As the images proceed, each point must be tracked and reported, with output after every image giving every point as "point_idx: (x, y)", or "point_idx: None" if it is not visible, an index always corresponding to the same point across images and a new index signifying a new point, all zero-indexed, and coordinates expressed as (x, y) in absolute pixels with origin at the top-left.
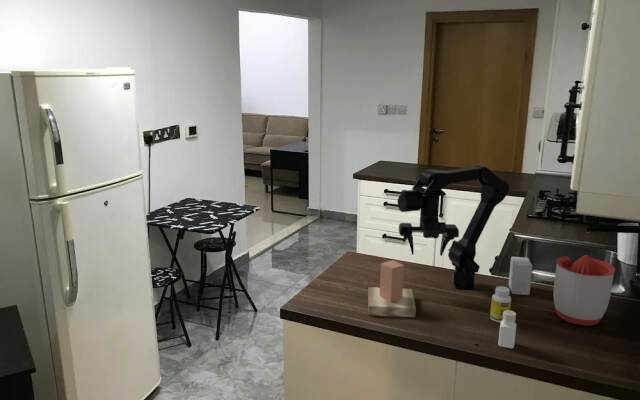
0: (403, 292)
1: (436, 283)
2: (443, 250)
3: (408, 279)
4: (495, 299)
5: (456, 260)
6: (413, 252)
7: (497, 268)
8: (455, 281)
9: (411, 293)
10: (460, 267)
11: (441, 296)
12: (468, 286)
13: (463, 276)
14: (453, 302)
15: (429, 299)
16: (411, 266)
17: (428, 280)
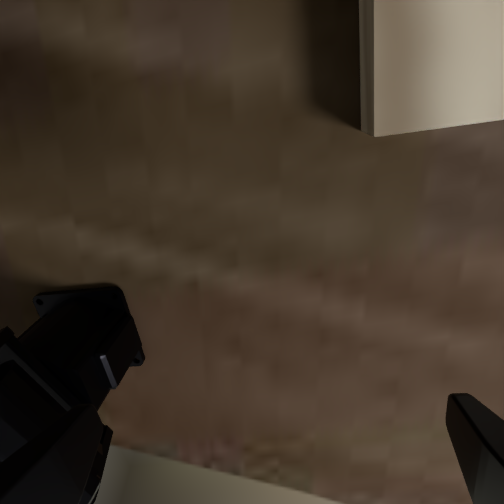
0: (448, 41)
1: (217, 331)
2: (4, 466)
3: (356, 355)
4: None
5: (14, 408)
6: (471, 418)
7: None
8: (114, 324)
9: (382, 37)
10: (50, 393)
11: (182, 183)
12: (59, 304)
13: (51, 334)
14: (109, 114)
15: (247, 124)
16: (332, 474)
17: (256, 357)
